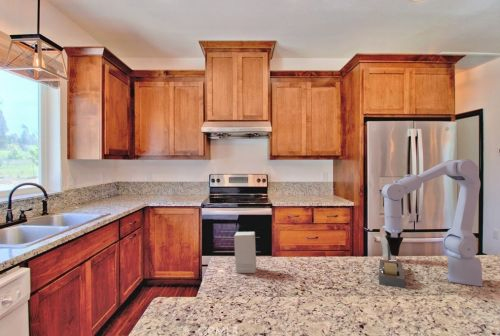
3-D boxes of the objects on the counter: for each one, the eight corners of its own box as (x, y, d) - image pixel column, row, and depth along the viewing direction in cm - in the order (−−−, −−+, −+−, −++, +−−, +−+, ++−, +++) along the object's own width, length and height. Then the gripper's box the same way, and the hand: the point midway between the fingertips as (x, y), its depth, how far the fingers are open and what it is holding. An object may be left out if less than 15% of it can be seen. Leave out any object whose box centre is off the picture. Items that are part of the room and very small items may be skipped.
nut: (396, 279, 99) (396, 263, 99) (397, 284, 96) (396, 267, 96) (384, 278, 101) (384, 262, 101) (384, 282, 97) (384, 265, 97)
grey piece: (401, 269, 110) (401, 261, 110) (404, 288, 92) (404, 279, 92) (380, 266, 113) (379, 259, 113) (379, 284, 95) (378, 275, 96)
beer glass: (396, 263, 117) (395, 229, 117) (379, 260, 121) (378, 227, 121) (398, 259, 122) (398, 226, 123) (382, 256, 126) (381, 224, 127)
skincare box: (256, 268, 113) (255, 231, 114) (255, 274, 107) (254, 234, 107) (236, 267, 114) (236, 231, 115) (234, 273, 108) (234, 234, 108)
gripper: (381, 213, 108) (382, 246, 108) (381, 218, 95) (382, 257, 95) (401, 213, 105) (402, 248, 105) (403, 219, 92) (405, 259, 92)
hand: (394, 252), depth 100 cm, fingers open, 7 cm apart
